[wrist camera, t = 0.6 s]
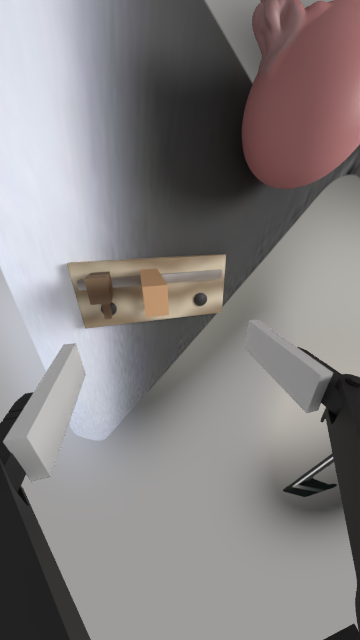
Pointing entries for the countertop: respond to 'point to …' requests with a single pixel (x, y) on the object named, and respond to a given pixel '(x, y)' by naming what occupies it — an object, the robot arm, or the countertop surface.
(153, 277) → the orange wooden block
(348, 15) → the balloon
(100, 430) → the countertop surface
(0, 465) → the robot arm
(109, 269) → the wooden slotted board
